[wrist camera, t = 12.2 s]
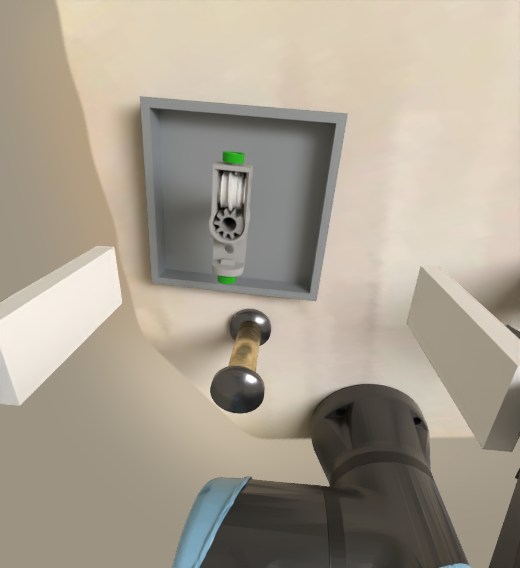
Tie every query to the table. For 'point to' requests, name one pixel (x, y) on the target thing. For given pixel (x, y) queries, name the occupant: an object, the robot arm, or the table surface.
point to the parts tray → (263, 201)
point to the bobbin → (242, 364)
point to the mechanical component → (230, 215)
